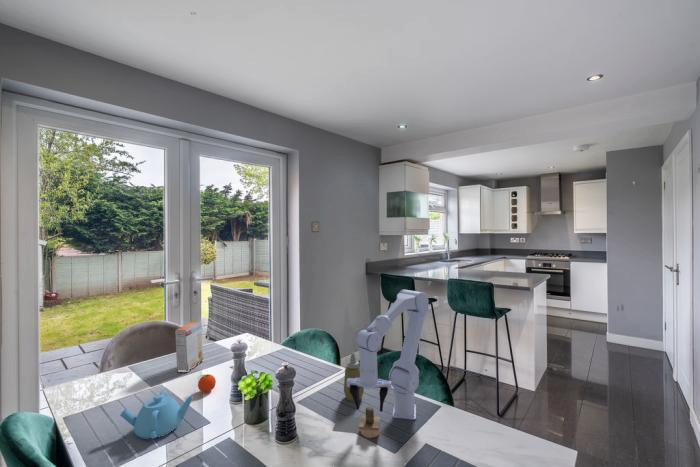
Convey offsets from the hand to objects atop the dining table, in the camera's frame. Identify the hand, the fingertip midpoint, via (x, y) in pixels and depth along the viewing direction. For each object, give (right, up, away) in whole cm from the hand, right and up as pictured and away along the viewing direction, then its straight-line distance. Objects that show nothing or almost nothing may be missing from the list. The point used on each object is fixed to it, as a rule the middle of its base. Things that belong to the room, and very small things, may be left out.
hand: (369, 408), depth 107 cm
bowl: (0, -8, 0) cm, 8 cm away
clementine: (-67, -10, +31) cm, 75 cm away
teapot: (-73, -10, +6) cm, 74 cm away
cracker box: (-86, -10, +57) cm, 104 cm away
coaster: (-7, -8, +5) cm, 12 cm away
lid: (0, -5, 0) cm, 5 cm away
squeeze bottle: (-5, -8, +22) cm, 24 cm away
